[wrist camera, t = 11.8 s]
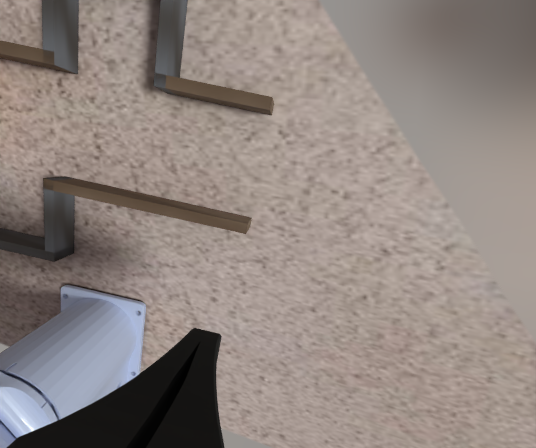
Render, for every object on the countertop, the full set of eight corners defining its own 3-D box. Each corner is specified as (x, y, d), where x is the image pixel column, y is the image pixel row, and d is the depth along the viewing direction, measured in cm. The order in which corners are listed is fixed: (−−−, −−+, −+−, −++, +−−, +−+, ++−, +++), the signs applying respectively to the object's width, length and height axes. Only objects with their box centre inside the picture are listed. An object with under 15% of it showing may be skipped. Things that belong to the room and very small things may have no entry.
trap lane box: (237, 290, 23) (232, 302, 21) (-78, 218, 24) (-111, 223, 22) (292, 8, 17) (292, -11, 15) (-123, -75, 18) (-173, -103, 16)
